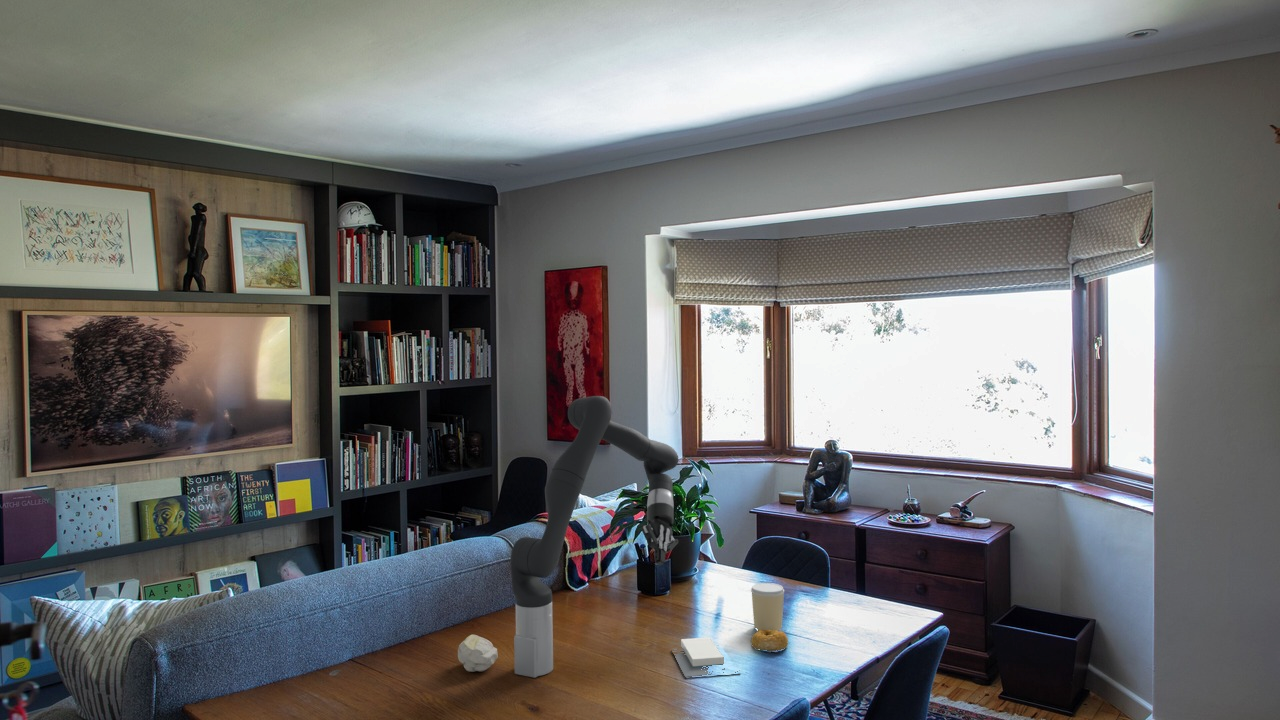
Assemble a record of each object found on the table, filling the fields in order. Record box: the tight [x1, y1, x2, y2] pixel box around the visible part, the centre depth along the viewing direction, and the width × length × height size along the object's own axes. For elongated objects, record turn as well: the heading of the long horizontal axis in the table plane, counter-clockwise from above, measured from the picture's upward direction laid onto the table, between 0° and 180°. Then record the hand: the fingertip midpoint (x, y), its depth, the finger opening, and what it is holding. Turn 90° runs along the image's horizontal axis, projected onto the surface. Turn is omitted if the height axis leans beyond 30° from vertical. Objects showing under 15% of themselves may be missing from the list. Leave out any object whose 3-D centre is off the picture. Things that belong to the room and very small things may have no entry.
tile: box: [680, 636, 724, 667], centre depth 210 cm, size 2×8×14 cm
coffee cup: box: [750, 582, 785, 631], centre depth 231 cm, size 9×9×12 cm
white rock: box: [457, 634, 499, 673], centre depth 205 cm, size 12×8×10 cm
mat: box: [671, 648, 738, 678], centre depth 207 cm, size 18×14×1 cm
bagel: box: [750, 630, 789, 651], centre depth 218 cm, size 10×11×5 cm
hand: (659, 563), depth 219 cm, fingers closed
